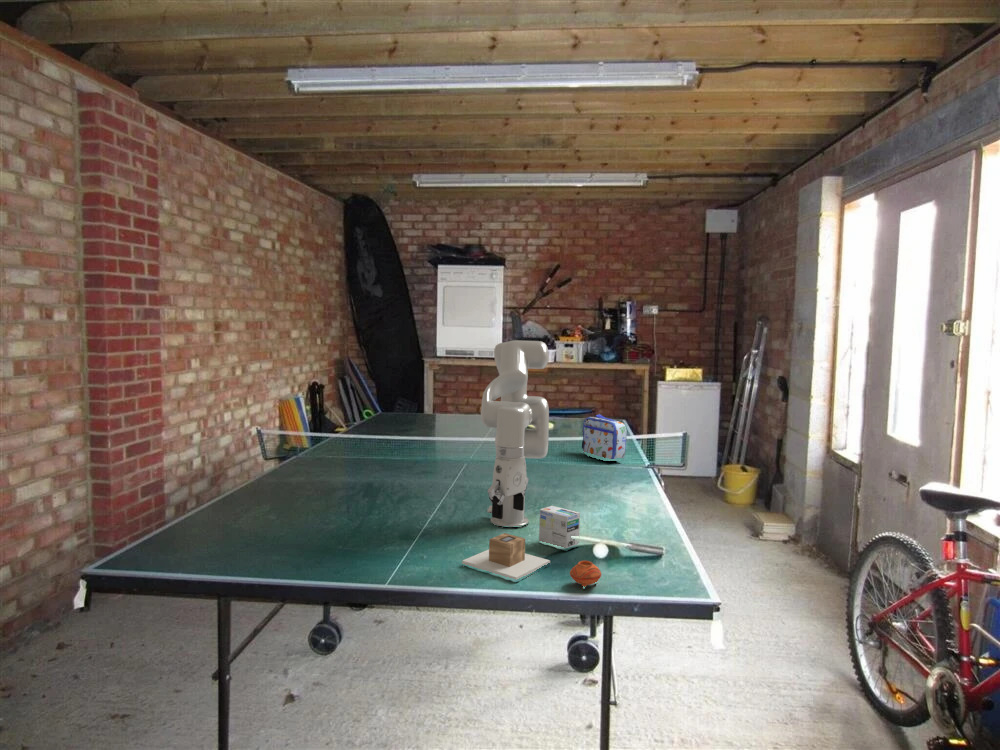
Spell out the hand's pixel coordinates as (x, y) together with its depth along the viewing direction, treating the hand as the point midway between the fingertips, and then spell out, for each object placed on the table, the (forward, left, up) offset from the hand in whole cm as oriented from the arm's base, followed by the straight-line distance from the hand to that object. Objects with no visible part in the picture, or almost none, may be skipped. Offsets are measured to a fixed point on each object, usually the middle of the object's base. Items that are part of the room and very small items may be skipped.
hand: (507, 513), depth 176 cm
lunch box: (-49, +149, -15) cm, 157 cm away
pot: (+24, +2, -15) cm, 28 cm away
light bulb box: (+2, +24, -15) cm, 28 cm away
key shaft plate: (0, 0, -14) cm, 14 cm away
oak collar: (0, 0, -13) cm, 13 cm away
